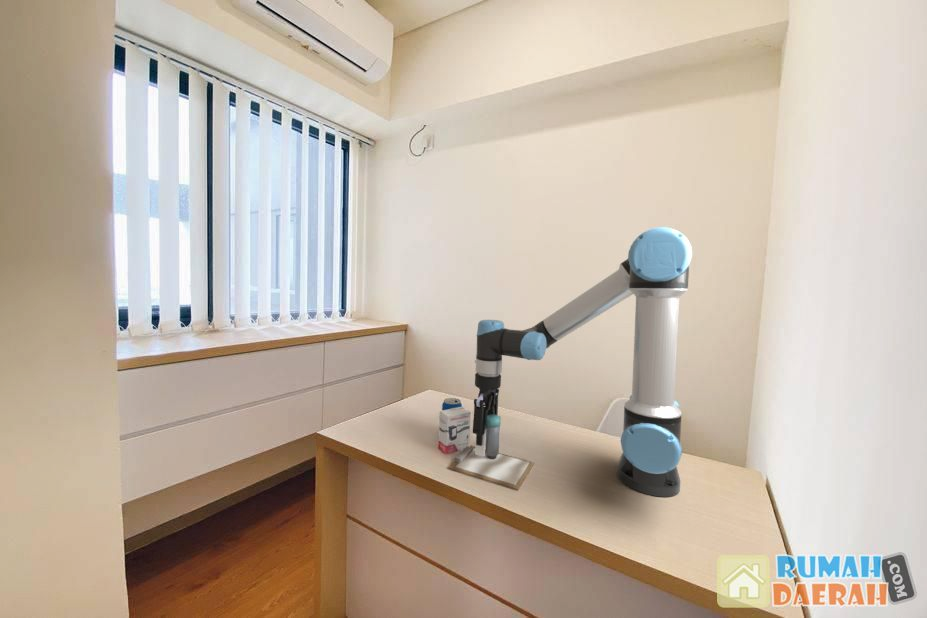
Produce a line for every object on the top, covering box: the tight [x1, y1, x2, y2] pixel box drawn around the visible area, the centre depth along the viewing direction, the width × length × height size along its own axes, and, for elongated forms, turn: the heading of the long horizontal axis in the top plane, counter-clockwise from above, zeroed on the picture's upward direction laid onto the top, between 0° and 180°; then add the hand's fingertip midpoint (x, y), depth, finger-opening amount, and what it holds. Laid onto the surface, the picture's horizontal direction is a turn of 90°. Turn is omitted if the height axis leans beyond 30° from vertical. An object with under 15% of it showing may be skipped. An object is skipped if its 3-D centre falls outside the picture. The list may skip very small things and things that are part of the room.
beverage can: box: [441, 397, 463, 411], centre depth 116 cm, size 6×6×12 cm
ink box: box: [438, 406, 471, 455], centre depth 108 cm, size 8×5×12 cm, turn 124°
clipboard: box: [447, 444, 535, 492], centre depth 98 cm, size 20×15×2 cm
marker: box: [485, 414, 502, 459], centre depth 102 cm, size 4×4×12 cm
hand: (484, 450), depth 103 cm, fingers open, 6 cm apart
